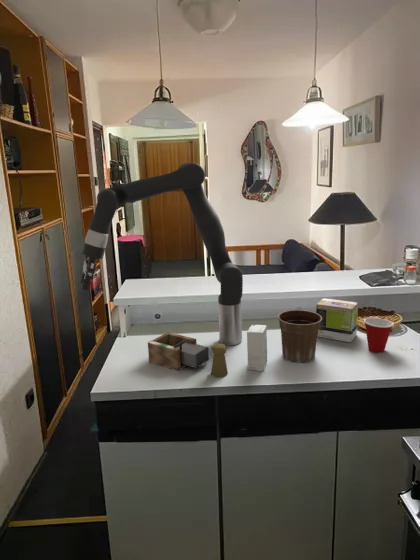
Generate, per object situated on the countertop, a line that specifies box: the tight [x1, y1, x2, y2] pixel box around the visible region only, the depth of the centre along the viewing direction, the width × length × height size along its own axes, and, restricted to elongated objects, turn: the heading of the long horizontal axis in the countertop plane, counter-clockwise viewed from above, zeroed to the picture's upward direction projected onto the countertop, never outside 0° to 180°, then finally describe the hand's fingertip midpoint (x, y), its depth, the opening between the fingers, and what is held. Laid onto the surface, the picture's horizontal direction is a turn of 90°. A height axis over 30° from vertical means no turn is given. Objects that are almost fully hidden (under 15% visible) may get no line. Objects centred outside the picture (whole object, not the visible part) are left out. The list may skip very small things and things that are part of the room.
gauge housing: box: [147, 331, 197, 371], centre depth 163 cm, size 14×12×8 cm
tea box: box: [315, 297, 359, 343], centre depth 180 cm, size 15×10×15 cm, turn 58°
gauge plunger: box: [174, 341, 210, 369], centre depth 157 cm, size 10×10×8 cm
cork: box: [210, 343, 229, 378], centre depth 152 cm, size 6×6×11 cm
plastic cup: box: [363, 317, 394, 354], centre depth 166 cm, size 11×11×12 cm
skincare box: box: [246, 324, 268, 372], centre depth 156 cm, size 8×6×15 cm
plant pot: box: [277, 309, 322, 364], centre depth 162 cm, size 16×16×16 cm
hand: (84, 286), depth 155 cm, fingers open, 8 cm apart
